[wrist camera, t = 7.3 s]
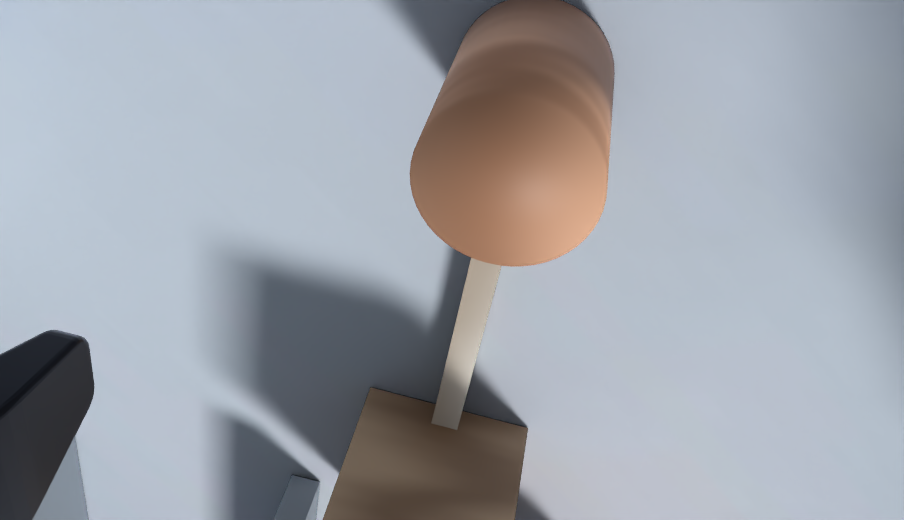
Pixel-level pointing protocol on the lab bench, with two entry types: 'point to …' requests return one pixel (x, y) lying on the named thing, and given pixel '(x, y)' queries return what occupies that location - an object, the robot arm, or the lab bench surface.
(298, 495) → the shelf lane
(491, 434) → the brown elongated piece
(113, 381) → the lab bench surface
